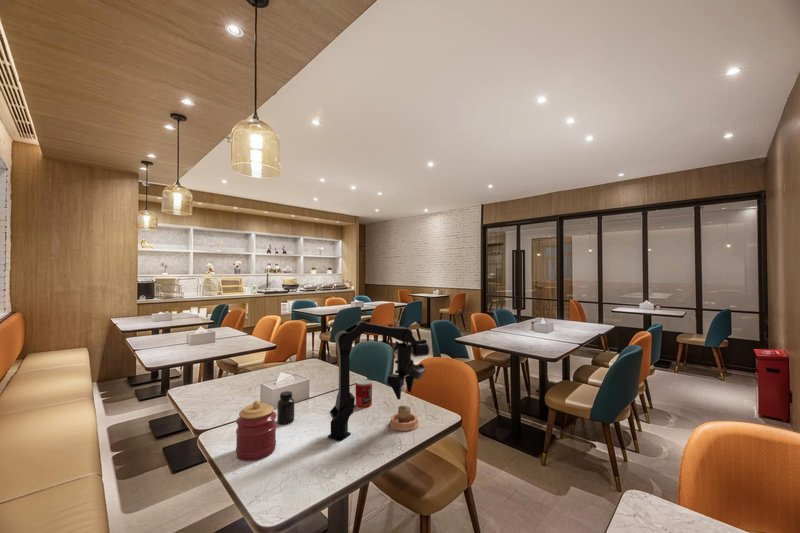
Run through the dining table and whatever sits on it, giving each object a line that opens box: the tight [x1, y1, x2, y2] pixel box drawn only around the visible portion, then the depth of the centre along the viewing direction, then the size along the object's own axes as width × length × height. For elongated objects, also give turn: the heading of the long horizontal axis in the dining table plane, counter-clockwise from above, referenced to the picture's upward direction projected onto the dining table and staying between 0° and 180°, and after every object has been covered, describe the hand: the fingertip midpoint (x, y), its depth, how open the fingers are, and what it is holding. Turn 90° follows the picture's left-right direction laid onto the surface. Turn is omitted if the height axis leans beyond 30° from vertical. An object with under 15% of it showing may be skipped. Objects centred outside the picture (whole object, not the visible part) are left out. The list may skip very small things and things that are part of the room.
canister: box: [235, 400, 277, 462], centre depth 117 cm, size 13×13×18 cm
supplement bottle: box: [276, 390, 295, 426], centre depth 141 cm, size 7×7×12 cm
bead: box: [397, 405, 411, 423], centre depth 138 cm, size 5×5×6 cm
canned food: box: [355, 378, 373, 409], centre depth 159 cm, size 8×8×11 cm
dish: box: [389, 412, 420, 432], centre depth 138 cm, size 12×12×3 cm
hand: (404, 395), depth 139 cm, fingers open, 9 cm apart
